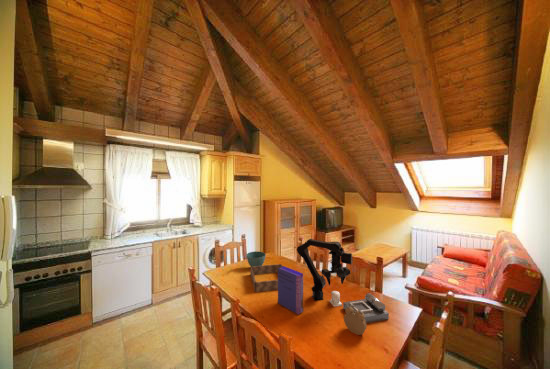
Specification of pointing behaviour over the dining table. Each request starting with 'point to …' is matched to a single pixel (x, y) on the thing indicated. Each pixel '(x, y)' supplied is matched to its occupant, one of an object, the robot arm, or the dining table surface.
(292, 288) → the cereal box
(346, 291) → the dining table surface
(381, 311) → the desk telephone
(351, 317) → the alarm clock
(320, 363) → the dining table surface
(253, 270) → the serving tray rim
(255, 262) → the plant pot
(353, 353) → the dining table surface
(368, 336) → the dining table surface
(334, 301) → the pump
